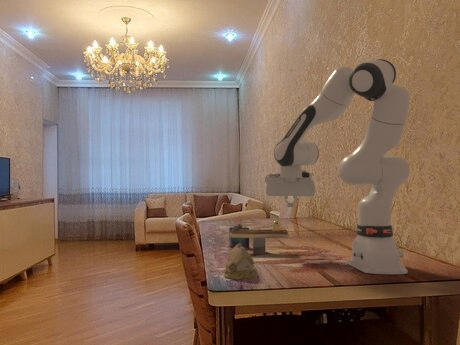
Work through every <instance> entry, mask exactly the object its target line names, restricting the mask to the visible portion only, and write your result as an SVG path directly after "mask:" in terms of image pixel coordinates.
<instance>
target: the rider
mask: <svg viewBox="0 0 460 345" xmlns="http://www.w3.org/2000/svg"><path fill="white" fill-rule="evenodd" d="M271 224H272V227H271V228H272V229H271V230H272V231H280V230H281V224H280V222H279V220H274V221H273V222H272V223H271Z"/></svg>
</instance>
